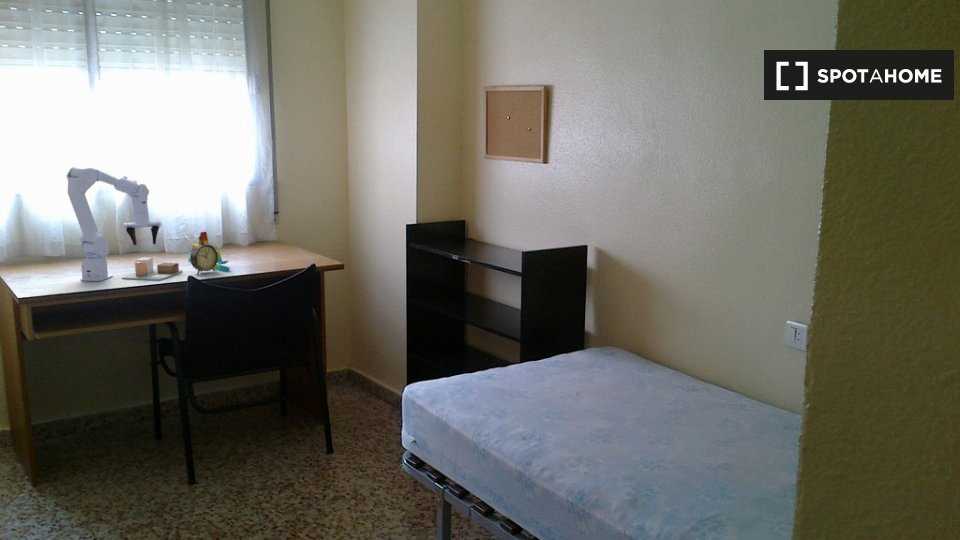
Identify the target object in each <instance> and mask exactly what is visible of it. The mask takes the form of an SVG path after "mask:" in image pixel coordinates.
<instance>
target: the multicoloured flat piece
mask: <svg viewBox="0 0 960 540" xmlns="http://www.w3.org/2000/svg"><path fill="white" fill-rule="evenodd" d="M199 233H200V235H201V234H204V235H205V237H204V235H201V236H200V235H199V236H200V241H204V240H205V241H204V242H203V243H204V245H210V244H209V238H208V234H207V231H202V232H199ZM200 241H199V240H198V243H194V244H192V247H191V250H190V251H191V252H192V250H193V249H194V248H195V247H196V246H197V245H201V242H200ZM216 251H217V250H216ZM191 252H187V254H188V255H189V256H190V255H191ZM217 255H218V260H217V264H216V266H215V267H214V270H215V271H218V272H223V273H225V272H226V273H227V272H230V271H231V270H230V266H226V264H227V263H228V262H229V260H224V261H223V258H222V255H221V253H220V251H219V250H218V251H217ZM187 260H188V263H191V260H190V257H188V259H187Z"/></svg>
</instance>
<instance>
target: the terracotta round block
mask: <svg viewBox="0 0 960 540" xmlns="http://www.w3.org/2000/svg"><path fill="white" fill-rule="evenodd" d="M134 271H135V272H134V273H136V276H137V277H144V276H148V273H147V262H146V261H138V262H136V261H135V262H134Z"/></svg>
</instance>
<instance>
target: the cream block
mask: <svg viewBox="0 0 960 540" xmlns="http://www.w3.org/2000/svg"><path fill="white" fill-rule="evenodd" d="M153 260H154V259H153V257H139V258H137V259H136V260H135V262H138V261H146V262H147V273H150V272H152V271H153V269H154V261H153Z"/></svg>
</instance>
